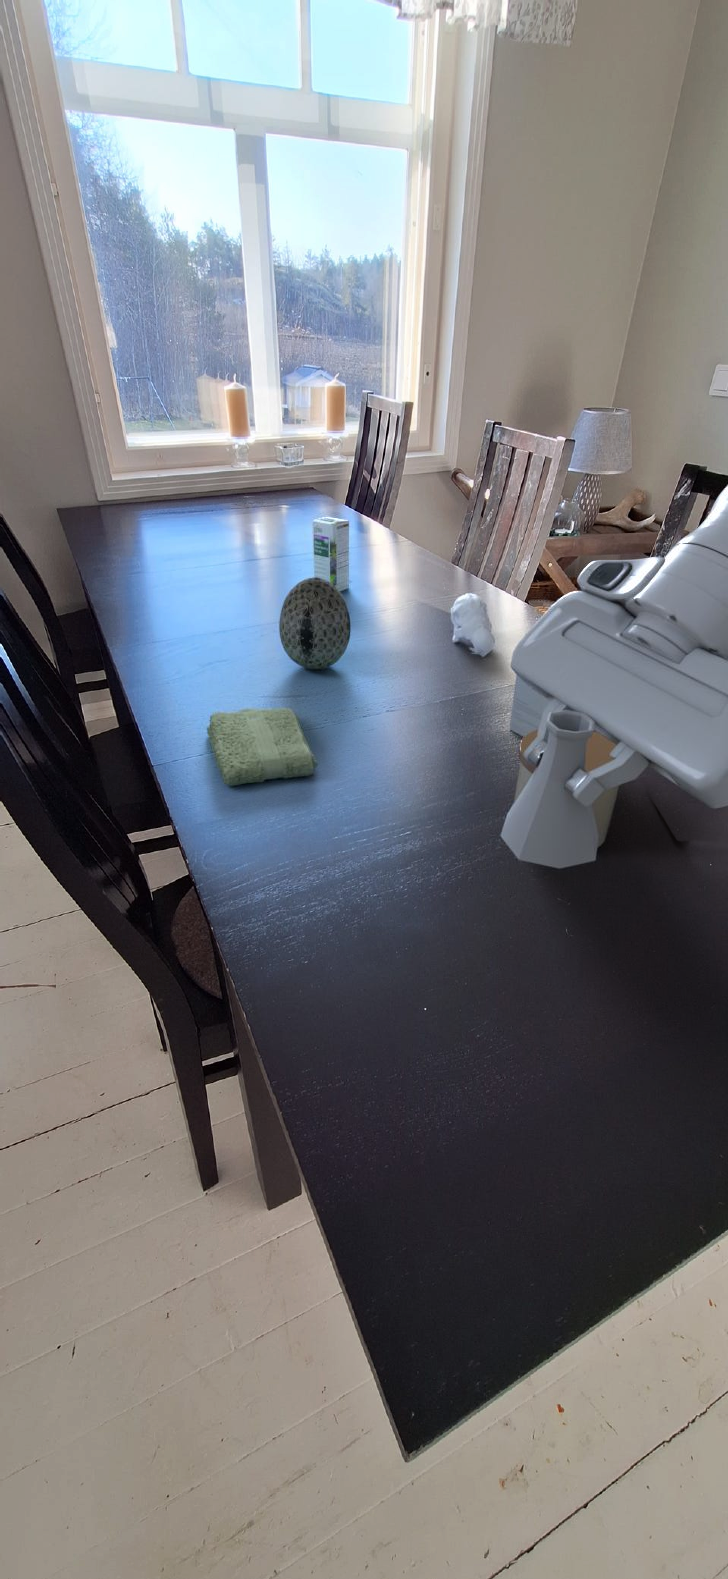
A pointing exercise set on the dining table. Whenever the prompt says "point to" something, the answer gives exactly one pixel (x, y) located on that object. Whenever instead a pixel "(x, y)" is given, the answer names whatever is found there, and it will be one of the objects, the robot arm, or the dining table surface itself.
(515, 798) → the canister
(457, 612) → the white bust
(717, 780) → the robot arm
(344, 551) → the syrup box
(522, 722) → the white packaging box
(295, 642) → the decorative egg
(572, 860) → the flask
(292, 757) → the washcloth
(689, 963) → the dining table surface
